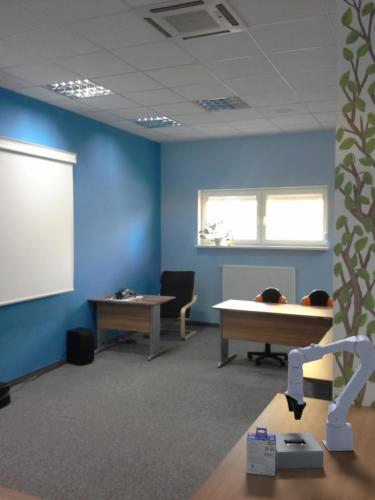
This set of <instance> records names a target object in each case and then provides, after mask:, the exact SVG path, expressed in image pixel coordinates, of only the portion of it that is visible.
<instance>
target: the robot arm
mask: <svg viewBox="0 0 375 500" xmlns="http://www.w3.org/2000/svg"><path fill="white" fill-rule="evenodd" d="M344 351H346V352H349V353H352V354H355V352H356V354H357V355H358V358H359V359H360V364H359V365H358V367H357V368H356V370H355V371H354V373H353V374H352V376H351V378H350V379H349V380H348V382H347V384H346V385H345V387H344V388H343V389H342V391H341V393H339V396H337V397H335V399H334V400H333V401H331V402H329V404H328V405H327V407H326V412H327V419H326V420H325V439H322V440H321V442H322V443H323V446H325V448H326V449H327V450H328V452H336V451H337V452H338V451H339V452H341V451H343V452H344V451H354V447H353V446H354V431H353V426H352V424H351V423H350V422H346V421H347V419H346V418H347V415H348V414H349V412H350V411H349V410H350V407H351V405H352V404H353V402H354V401H355V399H356V398H357V397H358V395H359V393H360V392H361V391H362V389H363V387H364V386H365V385H366V383H367V381H368V380H369V379H370V377H371V376H372V374H373V372H374V371H375V347H374V345H373V343H372V341H371V339H370V338H369V336H367V335H366V334H358V335H352V336H348V337H346V338H343V339H339V340H337V341H334V342H330V343H328V344H327V343H326V344H325V345H320V344H318V343H316V344H315V343H310V346H305V347H298V348H297V349H296V348H294V349H291V350H290V351H288V352H289V353H288V355H287V362H288V364H287V365H288V369H287V388H286V391H284V393H283V395H284V397H285V399H286V402H287V408H288V409H287V410H288V412H290V413H291V412H293V416H294V417H293V418H294V420H295V421H301V419H302V416H303V412H304V411H305V409H306V407H307V404H308V403H307V402H306V401H304V392H303V391H304V370H303V365H304V364H308V363H311V362H316V361H319V360H322V359H323V358H324V356H325V355H328V354H333V353H339V352H344Z"/></svg>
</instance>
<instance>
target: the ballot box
mask: <svg viewBox="0 0 375 500" xmlns="http://www.w3.org/2000/svg"><path fill="white" fill-rule="evenodd" d="M272 434H273V435H276V469H278V470H281V469H282V470H283V469H285V470H287V469H289V470H290V469H311V468H312V469H313V468H314V469H315V468H317V469H320V468H321V469H322V468H323V469H324V449H323V448H322V447H321V445H320V444H319V442H318V441H317V439H316V438H315V437H314V436H313V435H314V434H312V432H292V433H291V432H290V433H289V432H288V433H286V432H285V433H284V432H282V433H272ZM286 443H303V444H293V445H286Z"/></svg>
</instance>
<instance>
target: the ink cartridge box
mask: <svg viewBox="0 0 375 500" xmlns="http://www.w3.org/2000/svg"><path fill="white" fill-rule="evenodd" d="M255 429H256V430H255V432H248V433H247V436H246V474H251V475H253V474H254V475H262V476H269V477H270V476H271V477H275V476H276V470H277V466H276V435H273V434H274V433H268V428H266V427H265V428H263V427H256V428H255ZM259 431H264V432H259Z"/></svg>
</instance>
